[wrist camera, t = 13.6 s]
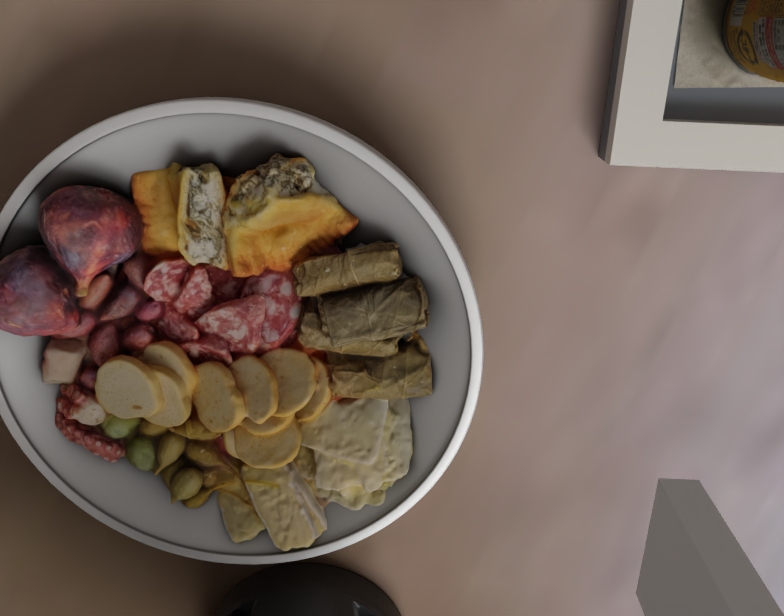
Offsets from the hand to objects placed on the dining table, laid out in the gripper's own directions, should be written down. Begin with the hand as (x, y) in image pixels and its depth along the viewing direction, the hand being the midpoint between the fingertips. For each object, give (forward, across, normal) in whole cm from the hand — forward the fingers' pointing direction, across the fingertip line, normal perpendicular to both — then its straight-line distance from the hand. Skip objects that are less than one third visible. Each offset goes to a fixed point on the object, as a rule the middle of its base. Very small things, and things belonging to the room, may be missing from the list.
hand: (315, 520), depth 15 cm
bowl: (+33, +8, +10) cm, 36 cm away
